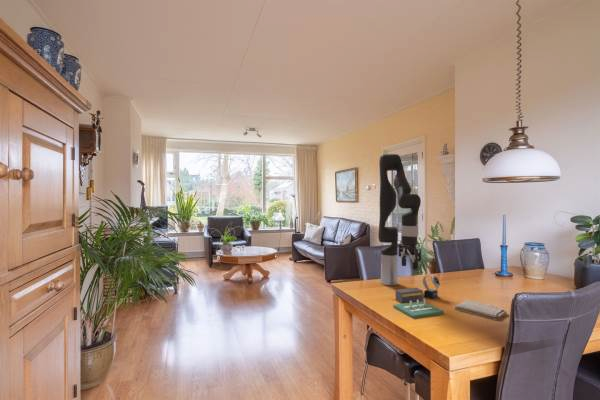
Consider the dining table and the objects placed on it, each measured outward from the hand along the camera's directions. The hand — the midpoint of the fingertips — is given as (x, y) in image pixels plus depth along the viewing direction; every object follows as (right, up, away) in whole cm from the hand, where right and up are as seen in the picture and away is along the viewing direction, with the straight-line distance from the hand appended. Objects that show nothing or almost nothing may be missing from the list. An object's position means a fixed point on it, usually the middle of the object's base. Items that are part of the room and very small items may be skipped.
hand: (409, 267), depth 157 cm
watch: (+13, -16, +5) cm, 21 cm away
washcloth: (+26, -17, -16) cm, 35 cm away
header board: (-1, -16, -14) cm, 21 cm away
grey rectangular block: (0, -16, 0) cm, 16 cm away
